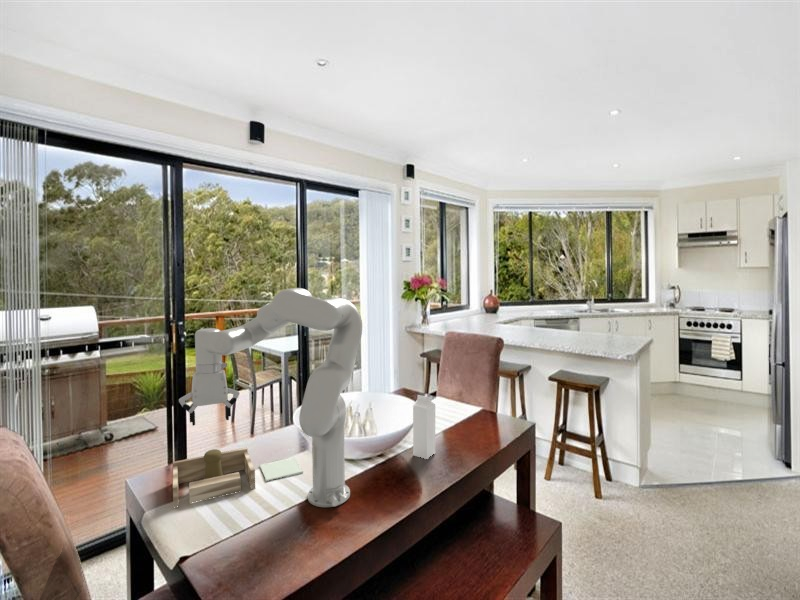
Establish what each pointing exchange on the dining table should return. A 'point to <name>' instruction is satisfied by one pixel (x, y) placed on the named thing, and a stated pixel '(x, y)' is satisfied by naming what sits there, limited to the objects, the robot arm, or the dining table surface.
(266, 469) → the tile
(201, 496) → the offcut low
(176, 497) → the rack
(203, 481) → the offcut top
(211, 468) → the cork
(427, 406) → the milk
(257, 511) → the dining table surface
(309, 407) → the robot arm
